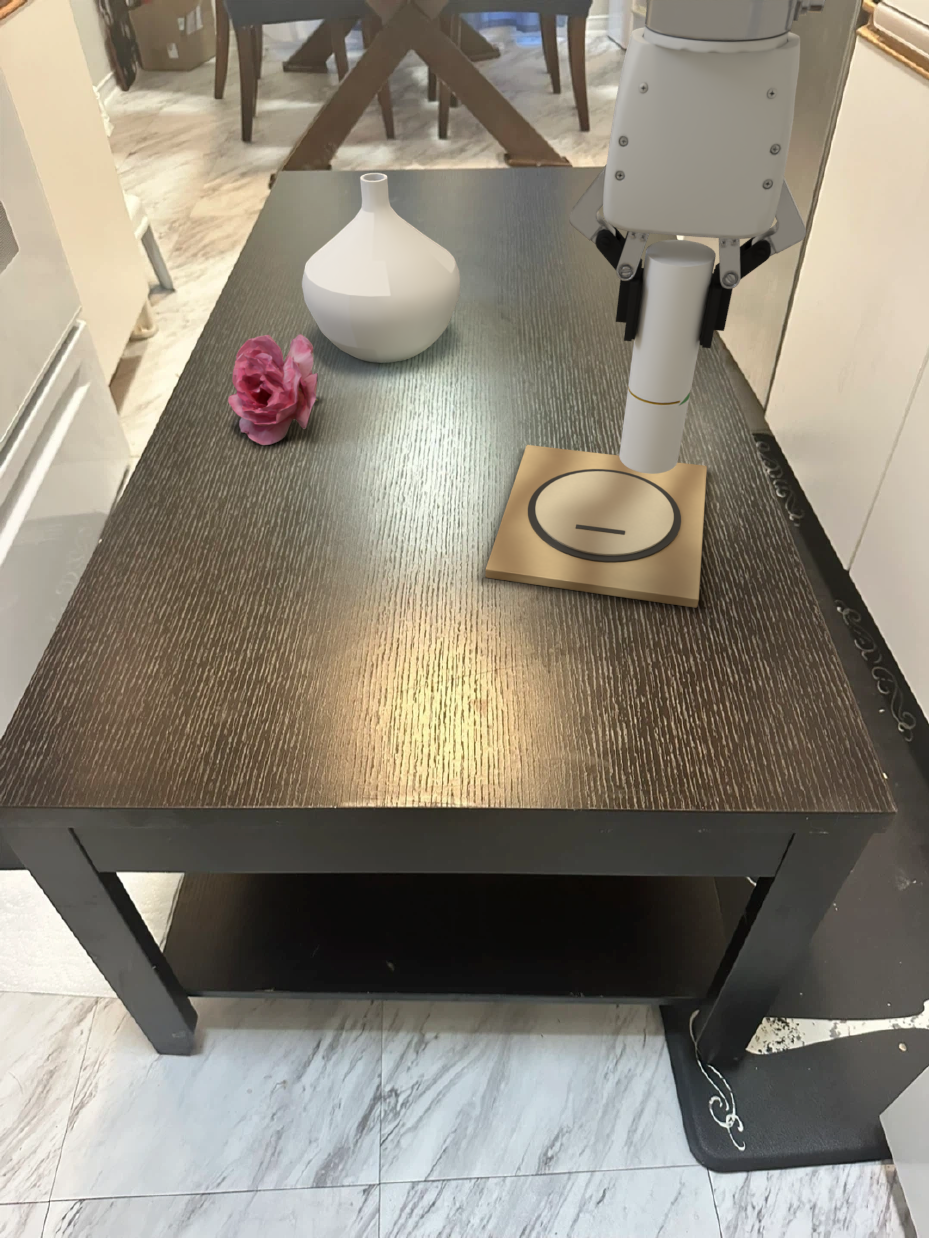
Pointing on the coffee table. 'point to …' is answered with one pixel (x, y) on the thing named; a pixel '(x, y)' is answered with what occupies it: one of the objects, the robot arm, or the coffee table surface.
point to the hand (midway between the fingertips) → (667, 332)
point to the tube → (665, 353)
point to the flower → (273, 387)
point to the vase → (381, 283)
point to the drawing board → (602, 527)
